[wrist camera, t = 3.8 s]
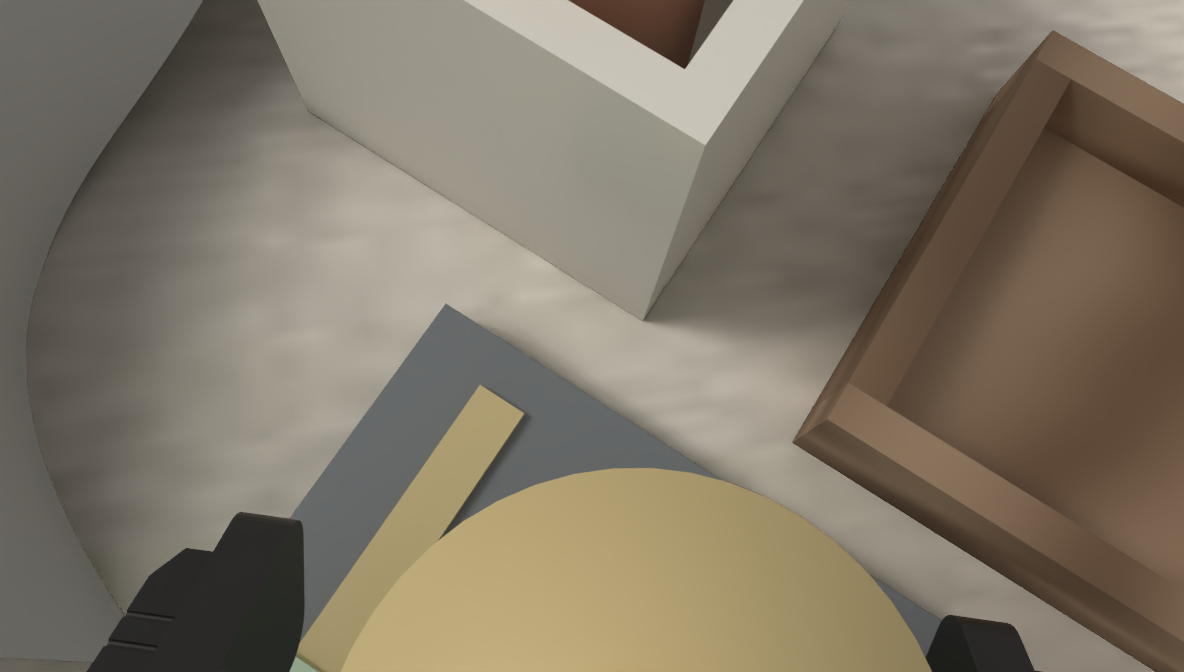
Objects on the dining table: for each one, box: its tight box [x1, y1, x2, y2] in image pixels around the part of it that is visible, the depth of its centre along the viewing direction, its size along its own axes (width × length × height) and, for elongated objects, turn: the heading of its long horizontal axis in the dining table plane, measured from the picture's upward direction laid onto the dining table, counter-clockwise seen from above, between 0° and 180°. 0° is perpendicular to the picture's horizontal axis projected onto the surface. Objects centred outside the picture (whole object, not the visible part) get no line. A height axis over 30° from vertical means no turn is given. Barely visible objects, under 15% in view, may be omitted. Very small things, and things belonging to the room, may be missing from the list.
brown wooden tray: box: [792, 31, 1184, 672], centre depth 20 cm, size 10×10×2 cm
